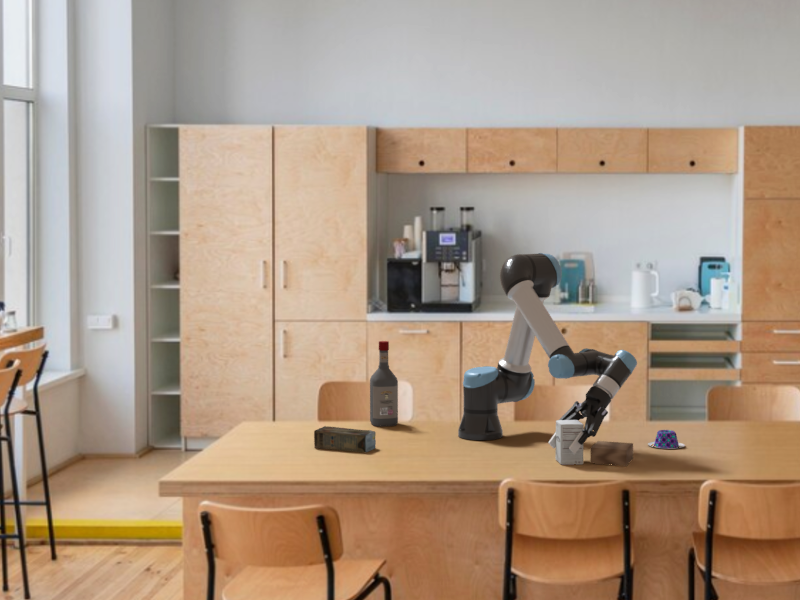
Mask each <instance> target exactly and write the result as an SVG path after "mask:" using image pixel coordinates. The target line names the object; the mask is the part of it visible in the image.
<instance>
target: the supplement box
mask: <svg viewBox="0 0 800 600" xmlns="http://www.w3.org/2000/svg"><path fill="white" fill-rule="evenodd" d="M584 427H585V423H582V422H581V421H580V420H559V419H557V420H555V432H556V447H555V458H554V459H555V461H557V462H558V463H559V464H560V465H565V466H566V465H567V466H568V465H569V466H570V465H573V466H574V464H576V465H583V464H584V444H583V445H581V447H580V448H579V449H578V451H577V452H576V454H573V453H572V451H571V450H570V449H569V447H570V446H571V444H572V443H573V441H574V440H575V439H576V437H577V436H578V435H579V433H580V432H583V431H582V430H583V429H584ZM583 433H584V432H583Z"/></svg>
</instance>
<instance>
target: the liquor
mask: <svg viewBox="0 0 800 600" xmlns="http://www.w3.org/2000/svg"><path fill="white" fill-rule="evenodd" d="M389 343H390V342H389V340H381V341H378V351H379V353H378V354H379V355H378V357H379V358H378V359H379V360H378V367H377V369H376V371H374V372H373V374H372V375H371V376H370V379H369V416H370V417H369V422H370V424H371V425H373V426H374V427H378V428H379V427H382V428H383V427H394V426H397V424H398V423H399V409H398V408H399V401H398V400H399V397H398V396H399V389H398V388H399V383H398V378H397V377H396V375H395V374H394V372H393V371H392V370H391V369H390V366H389V349H390V347H389V346H390V345H389Z"/></svg>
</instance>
